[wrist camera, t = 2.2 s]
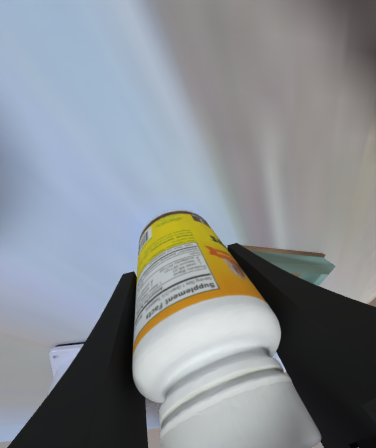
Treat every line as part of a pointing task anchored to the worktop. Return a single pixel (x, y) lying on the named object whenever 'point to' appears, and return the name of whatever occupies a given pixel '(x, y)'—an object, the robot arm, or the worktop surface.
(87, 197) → the worktop surface
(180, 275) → the supplement bottle
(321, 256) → the teal picture frame
